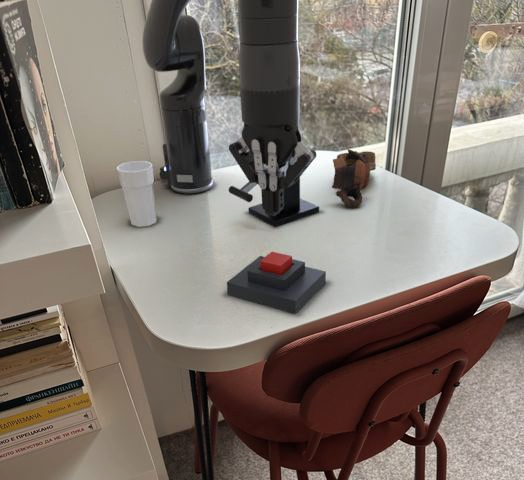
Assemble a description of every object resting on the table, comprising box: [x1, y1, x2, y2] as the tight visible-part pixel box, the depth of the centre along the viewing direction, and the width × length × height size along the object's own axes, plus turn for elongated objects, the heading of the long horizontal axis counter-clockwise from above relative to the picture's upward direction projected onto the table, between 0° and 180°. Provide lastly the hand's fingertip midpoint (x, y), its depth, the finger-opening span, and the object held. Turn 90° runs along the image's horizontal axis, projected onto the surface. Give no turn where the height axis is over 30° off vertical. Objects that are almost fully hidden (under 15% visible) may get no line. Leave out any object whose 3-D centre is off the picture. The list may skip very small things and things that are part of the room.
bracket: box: [248, 152, 320, 228], centre depth 107 cm, size 11×9×13 cm
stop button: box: [260, 251, 293, 275], centre depth 84 cm, size 4×4×2 cm
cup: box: [116, 160, 157, 228], centre depth 107 cm, size 7×7×11 cm
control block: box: [226, 254, 327, 314], centre depth 85 cm, size 12×10×4 cm
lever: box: [228, 181, 258, 203], centre depth 103 cm, size 13×6×2 cm, turn 128°
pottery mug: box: [331, 148, 371, 209], centre depth 112 cm, size 12×10×8 cm
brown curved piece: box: [336, 151, 377, 172], centre depth 121 cm, size 15×3×8 cm
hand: (272, 213), depth 79 cm, fingers closed
